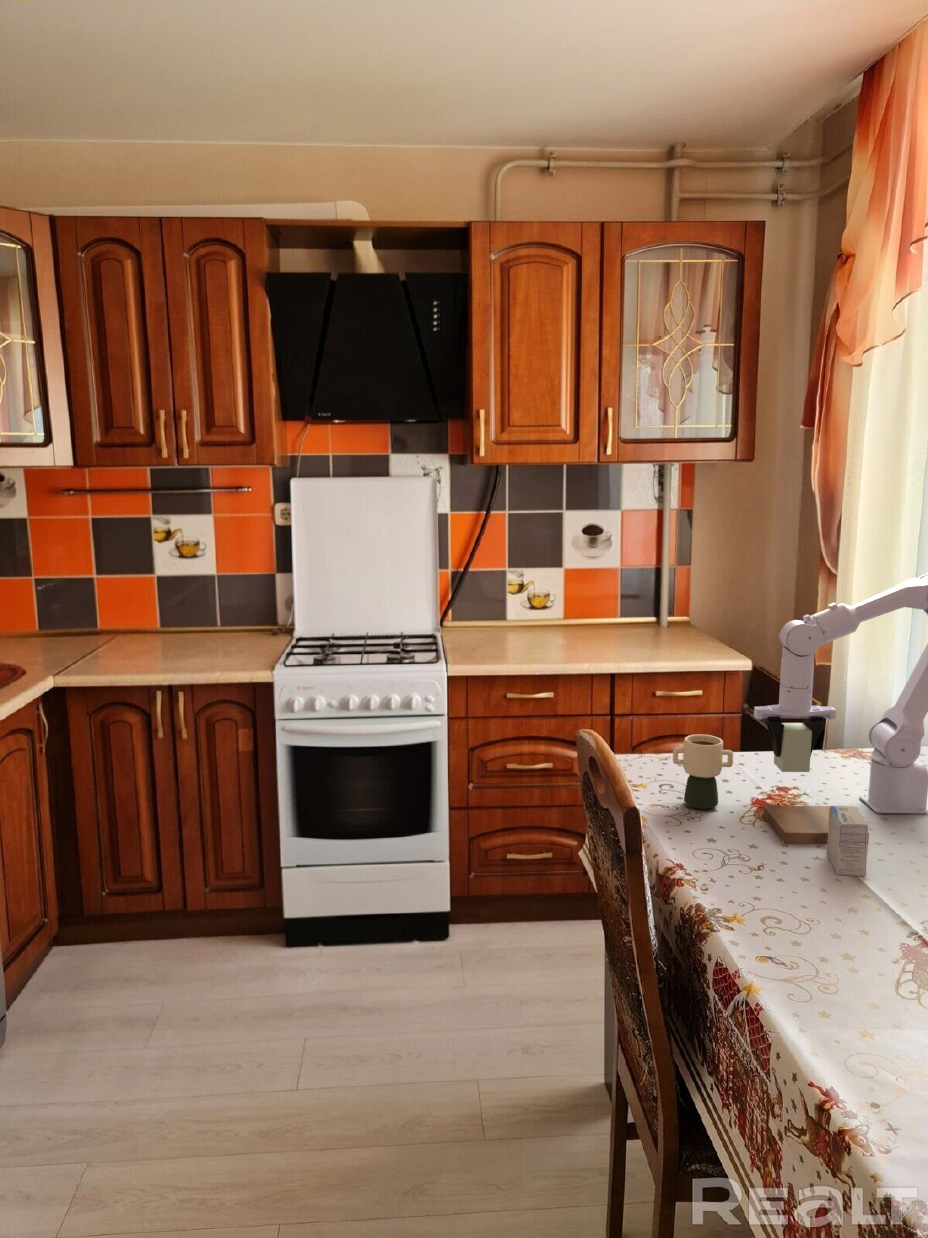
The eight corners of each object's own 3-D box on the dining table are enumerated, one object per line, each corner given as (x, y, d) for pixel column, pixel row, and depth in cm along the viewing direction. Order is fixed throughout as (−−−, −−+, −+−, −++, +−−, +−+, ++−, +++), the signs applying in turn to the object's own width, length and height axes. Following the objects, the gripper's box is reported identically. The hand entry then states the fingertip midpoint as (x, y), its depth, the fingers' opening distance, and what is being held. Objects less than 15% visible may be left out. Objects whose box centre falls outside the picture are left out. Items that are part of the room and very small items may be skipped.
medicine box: (866, 878, 138) (870, 825, 136) (835, 875, 139) (839, 823, 137) (854, 856, 145) (858, 806, 144) (825, 854, 146) (829, 804, 145)
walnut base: (840, 816, 161) (840, 806, 161) (868, 844, 150) (869, 833, 149) (763, 816, 162) (763, 805, 161) (784, 844, 150) (785, 832, 150)
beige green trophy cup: (729, 800, 169) (732, 735, 167) (732, 815, 162) (735, 747, 160) (670, 796, 172) (673, 732, 169) (671, 810, 165) (674, 744, 162)
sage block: (800, 763, 169) (802, 722, 168) (809, 772, 165) (811, 730, 163) (773, 763, 170) (776, 722, 168) (782, 772, 165) (784, 730, 163)
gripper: (827, 680, 168) (823, 748, 170) (750, 680, 168) (747, 748, 171) (842, 689, 161) (837, 760, 163) (761, 689, 161) (758, 760, 164)
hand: (792, 755), depth 167 cm, fingers closed on sage block, 5 cm apart
